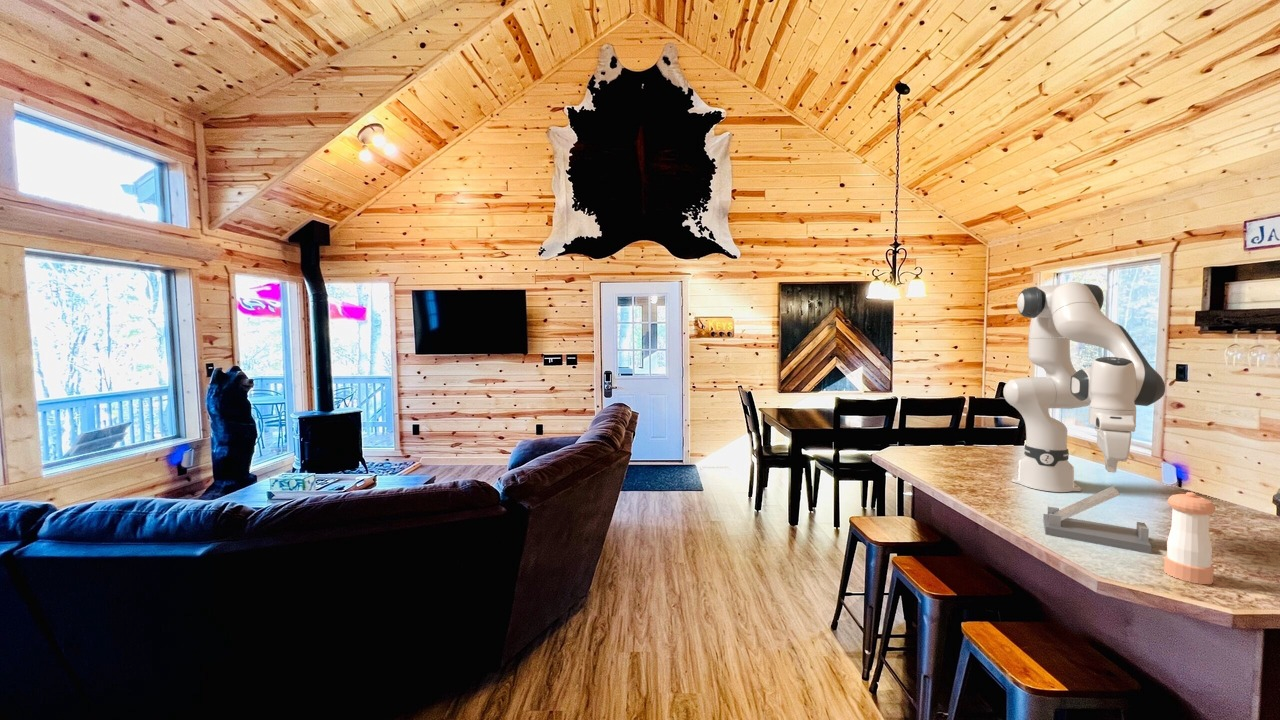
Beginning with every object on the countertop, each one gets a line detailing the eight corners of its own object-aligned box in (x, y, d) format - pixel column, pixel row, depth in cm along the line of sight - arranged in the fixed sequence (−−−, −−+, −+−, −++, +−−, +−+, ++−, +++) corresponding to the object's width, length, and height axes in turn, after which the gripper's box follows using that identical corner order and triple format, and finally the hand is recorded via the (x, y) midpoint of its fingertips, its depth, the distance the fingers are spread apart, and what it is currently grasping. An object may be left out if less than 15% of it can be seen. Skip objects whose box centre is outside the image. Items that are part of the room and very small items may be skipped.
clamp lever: (1052, 519, 136) (1047, 514, 137) (1117, 490, 128) (1111, 484, 128) (1053, 525, 132) (1048, 519, 133) (1120, 495, 124) (1114, 489, 124)
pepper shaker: (1162, 565, 113) (1165, 485, 112) (1210, 575, 108) (1213, 492, 107) (1165, 577, 107) (1168, 493, 106) (1215, 588, 102) (1219, 500, 101)
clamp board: (1043, 520, 140) (1043, 503, 140) (1140, 537, 128) (1141, 518, 128) (1045, 534, 131) (1045, 516, 131) (1151, 553, 119) (1151, 533, 118)
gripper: (1090, 413, 136) (1089, 461, 137) (1100, 423, 120) (1099, 478, 120) (1121, 415, 132) (1120, 464, 133) (1136, 426, 116) (1135, 482, 117)
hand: (1110, 471), depth 126 cm, fingers closed
